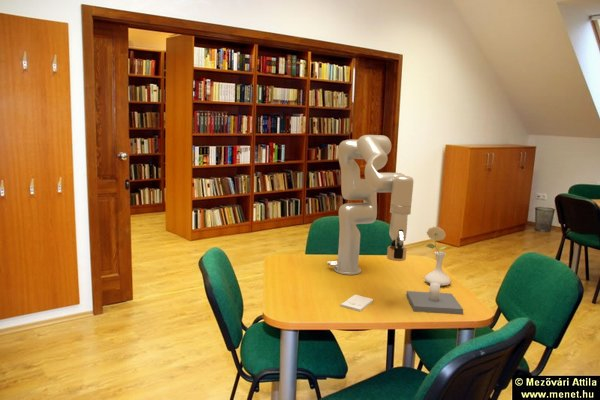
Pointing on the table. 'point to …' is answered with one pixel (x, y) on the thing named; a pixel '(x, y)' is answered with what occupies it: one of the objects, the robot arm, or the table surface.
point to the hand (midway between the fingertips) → (396, 255)
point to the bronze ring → (391, 254)
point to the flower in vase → (437, 274)
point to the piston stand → (434, 301)
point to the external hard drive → (357, 303)
